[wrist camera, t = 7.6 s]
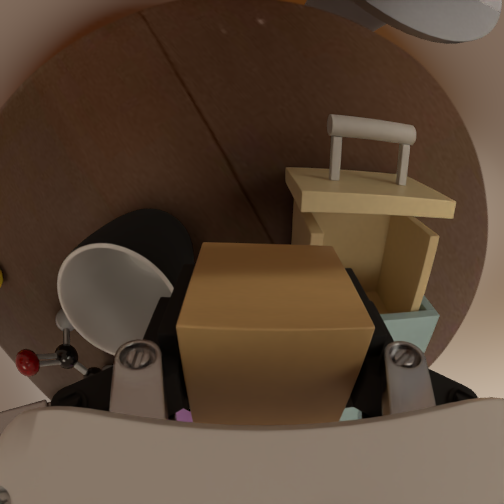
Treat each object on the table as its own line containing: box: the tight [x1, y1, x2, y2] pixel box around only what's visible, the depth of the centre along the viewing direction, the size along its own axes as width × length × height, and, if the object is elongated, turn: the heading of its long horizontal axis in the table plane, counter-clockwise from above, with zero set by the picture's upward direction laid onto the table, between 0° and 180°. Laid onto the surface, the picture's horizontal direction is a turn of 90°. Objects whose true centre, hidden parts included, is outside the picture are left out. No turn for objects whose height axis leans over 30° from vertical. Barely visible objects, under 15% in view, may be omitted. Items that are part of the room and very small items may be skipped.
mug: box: [57, 209, 195, 355], centre depth 22 cm, size 12×9×10 cm
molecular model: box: [15, 309, 113, 379], centre depth 27 cm, size 8×12×11 cm
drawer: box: [285, 114, 456, 314], centre depth 21 cm, size 16×10×8 cm, turn 0°
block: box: [176, 242, 375, 425], centre depth 10 cm, size 5×5×5 cm
